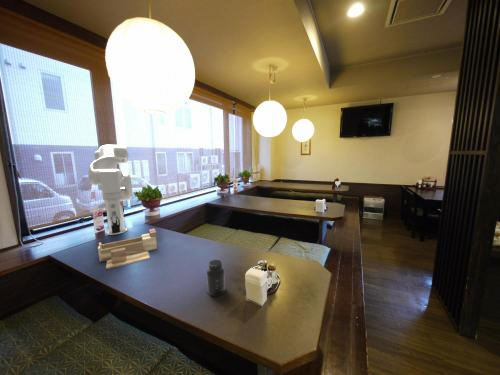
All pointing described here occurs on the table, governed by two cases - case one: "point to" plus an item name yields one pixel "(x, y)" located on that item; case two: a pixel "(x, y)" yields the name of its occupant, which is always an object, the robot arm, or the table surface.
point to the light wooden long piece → (128, 246)
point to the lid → (125, 258)
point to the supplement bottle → (215, 278)
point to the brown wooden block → (152, 232)
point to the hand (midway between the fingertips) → (116, 229)
